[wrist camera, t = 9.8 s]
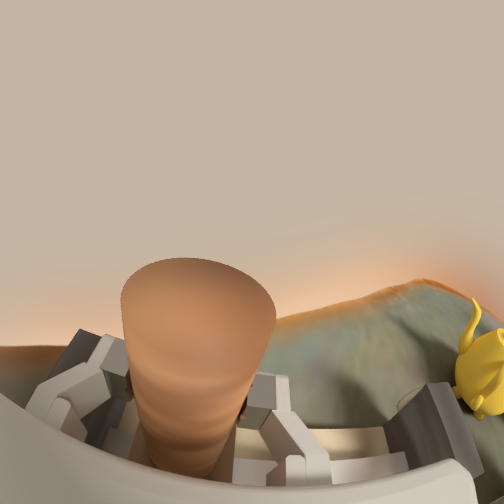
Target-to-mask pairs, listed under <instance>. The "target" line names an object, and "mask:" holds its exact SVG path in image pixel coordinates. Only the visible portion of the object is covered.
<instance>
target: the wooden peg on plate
mask: <svg viewBox="0 0 504 504" xmlns="http://www.w3.org/2000/svg"><path fill="white" fill-rule="evenodd" d="M121 310H122V321H123V330H124V338H125V346H126V353H127V359H128V366H129V372H130V377H131V383H132V388H133V393H134V397H135V402H136V407H137V411H138V415H139V419H140V421H139V424H138V427H137V430H136V433H135V436H134V440H133V443H132V446H131V450H130V453H129V456H128V460H129V461H132V462H135V463H138V464H142V465H145V466H148V467H152V468H155V469H159V470H163V471H167V472H171V473H175V474H179V475H184V476H189V477H194V478H199V479H205V480H211V481H218V482H225V483H232V475H233V463H234V451H235V439H236V426H237V421H236V419H237V417H238V414H239V412H240V410H241V408H242V405H243V403H244V401H245V398H246V396H247V394H248V391H249V389H250V387H251V384H252V382H253V379H254V377H255V375H256V372H257V370H258V367H259V365H260V362H261V360H262V357H263V355H264V352H265V350H266V347H267V345H268V342H269V340H270V337H271V335H272V332H273V329H274V327H275V323H276V310H275V306H274V303H273V301H272V299H271V297H270V295H269V294H268V293H267V291H266V290H265V289H264V288H263V287H262V286H261V285H260V284H259V283H258V282H257V281H255V280H254V279H253V278H251V277H250V276H248V275H246V274H245V273H243V272H241V271H239V270H237V269H235V268H233V267H230V266H228V265H225V264H222V263H219V262H214V261H210V260H205V259H198V258H172V259H166V260H161V261H158V262H154V263H151V264H149V265H147V266H145V267H143V268H141V269H139V270H138V271H137V272H135V273H134V274H133V275H132V276H131V277H130V278H129V279H128V280H127V282H126V283H125V285H124V287H123V290H122V294H121Z"/></svg>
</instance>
